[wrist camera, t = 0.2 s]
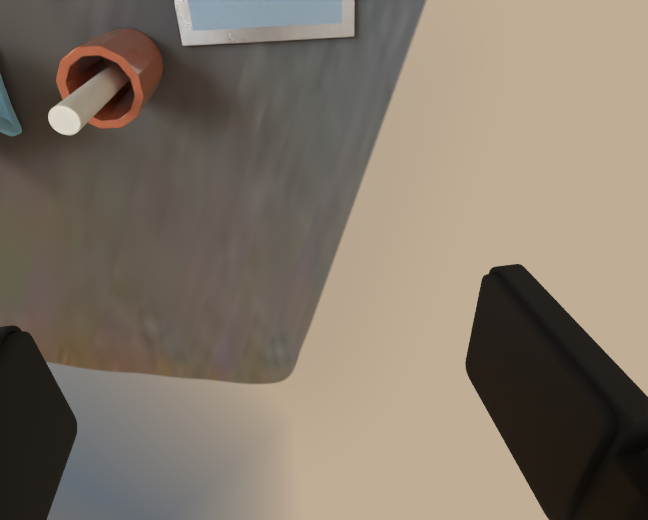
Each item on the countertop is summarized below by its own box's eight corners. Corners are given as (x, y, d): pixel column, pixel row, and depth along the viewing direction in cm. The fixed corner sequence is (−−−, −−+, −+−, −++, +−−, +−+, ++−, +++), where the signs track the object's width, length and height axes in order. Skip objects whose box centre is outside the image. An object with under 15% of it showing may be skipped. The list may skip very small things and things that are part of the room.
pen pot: (89, 29, 32) (44, 48, 25) (155, 26, 33) (130, 44, 25) (109, 96, 35) (73, 131, 27) (169, 92, 35) (150, 125, 28)
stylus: (117, 53, 33) (42, 106, 20) (137, 52, 33) (75, 104, 20) (123, 73, 33) (54, 136, 21) (142, 72, 34) (84, 134, 21)
